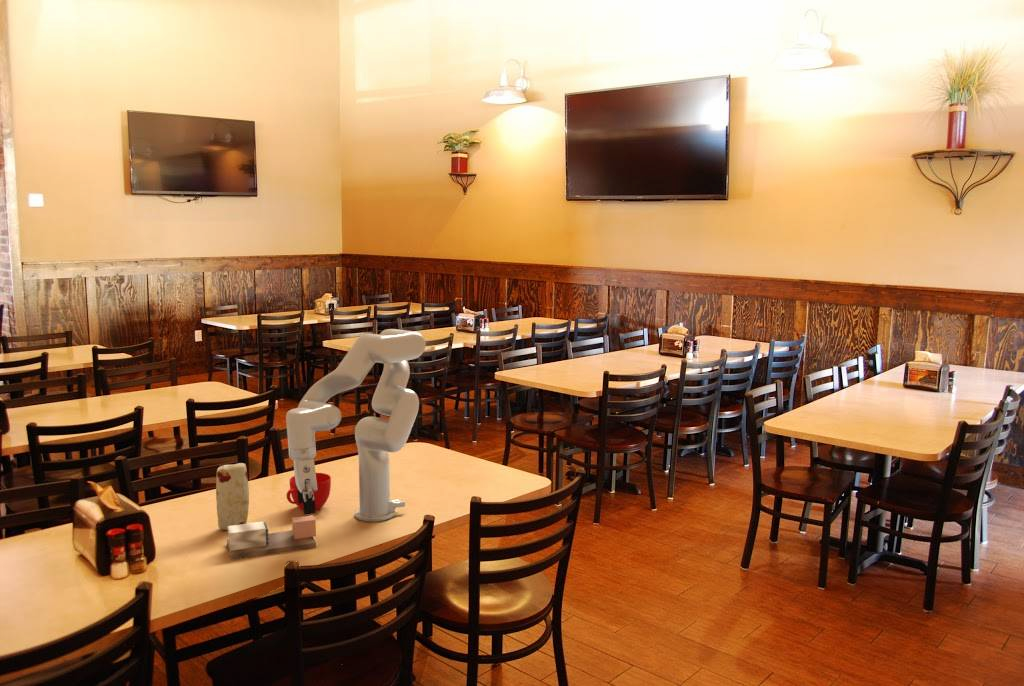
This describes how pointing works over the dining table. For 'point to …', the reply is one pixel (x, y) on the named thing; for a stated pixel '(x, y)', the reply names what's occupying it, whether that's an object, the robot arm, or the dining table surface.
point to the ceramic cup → (319, 495)
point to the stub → (304, 527)
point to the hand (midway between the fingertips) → (306, 507)
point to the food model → (232, 495)
